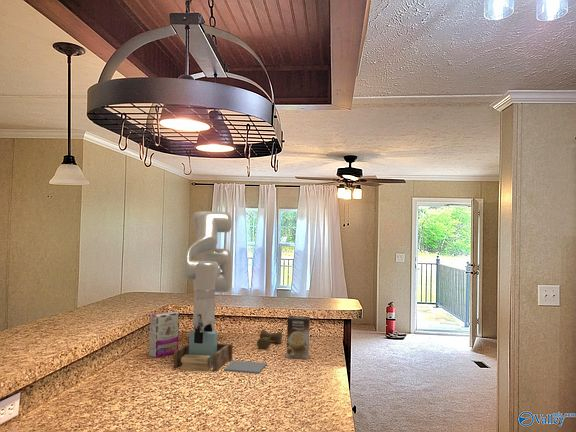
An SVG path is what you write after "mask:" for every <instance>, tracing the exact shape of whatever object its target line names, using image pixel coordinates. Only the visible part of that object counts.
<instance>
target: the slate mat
mask: <svg viewBox="0 0 576 432" xmlns="http://www.w3.org/2000/svg"><path fill="white" fill-rule="evenodd" d="M267 364H268V363H267V362H259V361H257V362H256V361H246V360H245V361H244V360H242V361H241V360H232V362H231V363H229V364H228V365H227V366H225V368H223V369H224V370H223V371H224V372H233V373H249V374H256V375H257V374H261V372H262V370H264V368H265V367H266V366H267Z"/></svg>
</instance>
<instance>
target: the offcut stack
mask: <svg viewBox="0 0 576 432" xmlns="http://www.w3.org/2000/svg"><path fill="white" fill-rule="evenodd" d="M210 359H211V356H204V355H184V356H183V357H182V358H181V362H182V365H181V366H179V368H180V369H179V370H180V371H190V372H207V371H208V372H209V371H210V369H211V368H212V366H211V364H210V362H211V360H210Z"/></svg>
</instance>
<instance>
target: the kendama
mask: <svg viewBox="0 0 576 432" xmlns="http://www.w3.org/2000/svg"><path fill="white" fill-rule="evenodd" d="M282 340H283V333H282V331H278V332H274V333H270V332H268V331H266V329H261V330H260V334H259V339H258V340H257V342H256V344H257V349H259V350H267V349H268V348H269V346H270V345H271V342H274V343H275V344H277V345H280V344H281V343H282Z"/></svg>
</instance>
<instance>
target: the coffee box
mask: <svg viewBox="0 0 576 432" xmlns="http://www.w3.org/2000/svg"><path fill="white" fill-rule="evenodd" d="M310 323H311V317H310V316H302V315H301V316H300V315H299V316H298V315H288V316H287V327H286V329H287V331H286V332H287V333H286V354H285V358H286V359H287V358H288V359H300V360H308V359H309V349H310V325H311V324H310Z"/></svg>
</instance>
